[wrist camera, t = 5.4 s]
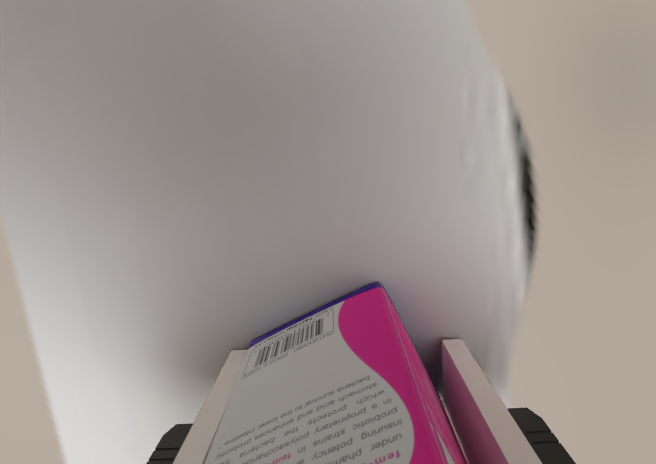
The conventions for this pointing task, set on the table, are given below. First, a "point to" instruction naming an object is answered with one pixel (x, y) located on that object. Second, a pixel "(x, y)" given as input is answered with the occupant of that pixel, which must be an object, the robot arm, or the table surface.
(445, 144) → the table surface
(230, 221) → the table surface
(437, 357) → the table surface
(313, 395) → the supplement box
